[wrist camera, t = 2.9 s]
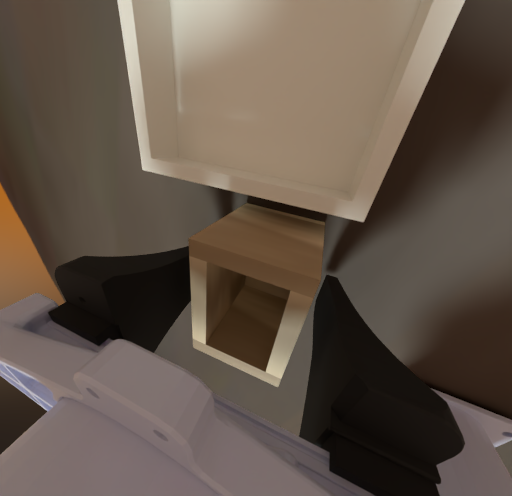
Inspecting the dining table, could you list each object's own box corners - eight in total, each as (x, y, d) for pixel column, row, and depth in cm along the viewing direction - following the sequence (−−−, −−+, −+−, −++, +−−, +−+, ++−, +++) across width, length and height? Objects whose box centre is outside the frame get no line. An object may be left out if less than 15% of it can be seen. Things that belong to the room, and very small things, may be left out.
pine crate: (296, 305, 15) (277, 387, 10) (237, 284, 16) (193, 347, 11) (325, 222, 11) (320, 280, 6) (247, 202, 12) (188, 238, 7)
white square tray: (355, 205, 10) (363, 222, 8) (177, 166, 13) (142, 170, 10) (550, -263, 4) (801, -734, 2) (157, -161, 7) (70, -320, 5)
